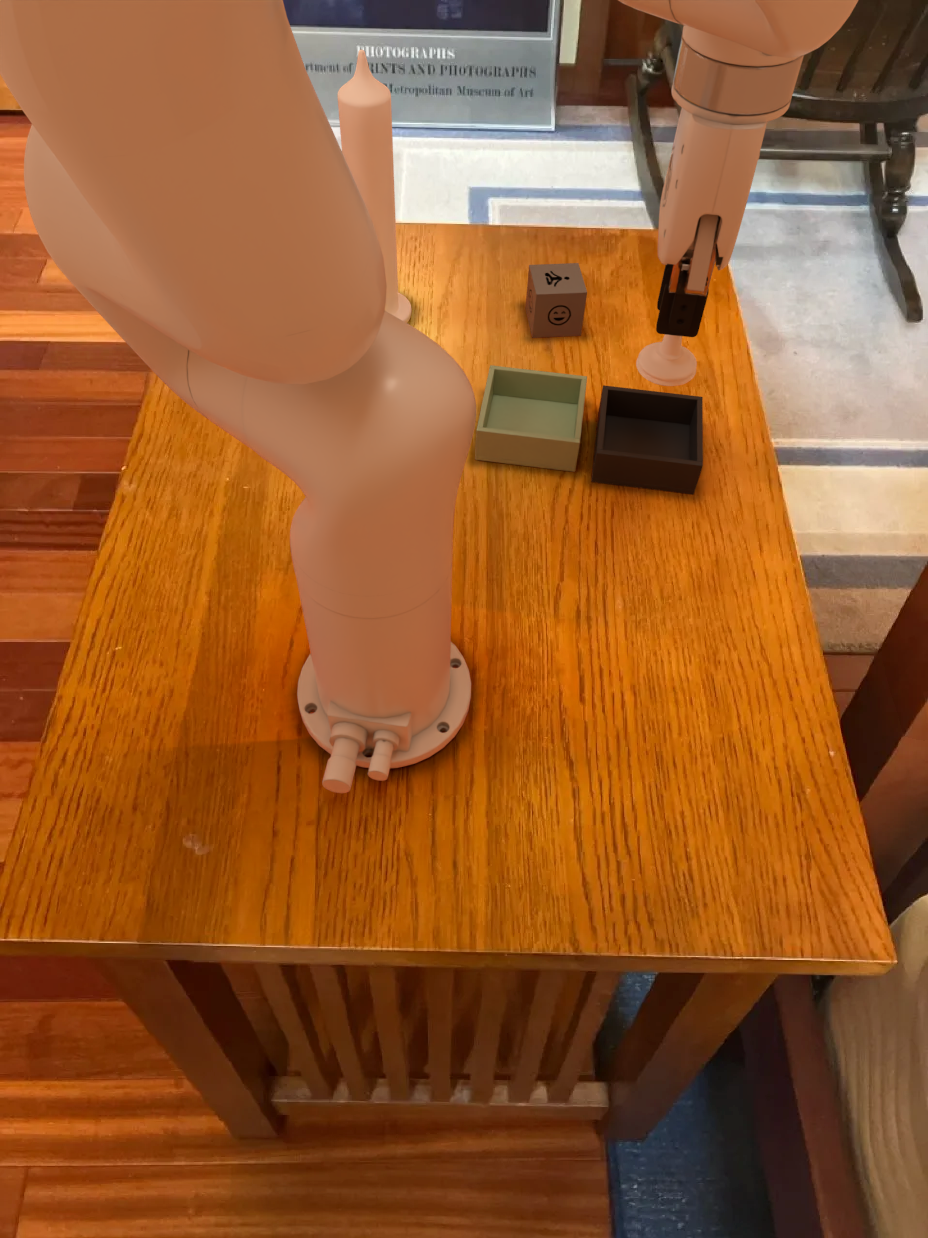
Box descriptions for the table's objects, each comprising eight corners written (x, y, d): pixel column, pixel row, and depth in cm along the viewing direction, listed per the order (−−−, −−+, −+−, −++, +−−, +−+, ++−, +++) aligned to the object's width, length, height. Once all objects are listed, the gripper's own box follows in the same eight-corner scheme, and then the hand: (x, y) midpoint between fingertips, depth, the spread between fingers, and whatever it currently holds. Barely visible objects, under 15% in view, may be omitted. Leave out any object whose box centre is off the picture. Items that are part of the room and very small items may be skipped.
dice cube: (525, 308, 97) (529, 264, 93) (572, 306, 97) (578, 262, 93) (532, 337, 94) (536, 294, 90) (580, 335, 94) (587, 292, 90)
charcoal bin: (693, 494, 81) (703, 465, 78) (591, 482, 82) (596, 452, 79) (694, 426, 87) (702, 396, 84) (597, 414, 87) (603, 384, 84)
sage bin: (575, 472, 83) (579, 442, 80) (474, 459, 83) (476, 430, 80) (582, 405, 88) (587, 375, 85) (488, 394, 89) (490, 364, 86)
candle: (409, 336, 94) (402, 70, 74) (339, 333, 94) (312, 67, 74) (413, 294, 98) (407, 32, 78) (346, 292, 98) (322, 29, 78)
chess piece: (694, 390, 75) (724, 280, 67) (633, 381, 75) (656, 271, 67) (697, 352, 78) (727, 242, 70) (638, 344, 78) (661, 234, 70)
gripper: (677, 14, 63) (632, 259, 78) (673, 128, 54) (623, 381, 69) (789, 24, 63) (722, 268, 78) (805, 140, 53) (726, 393, 68)
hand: (676, 320), depth 73 cm, fingers closed on chess piece
